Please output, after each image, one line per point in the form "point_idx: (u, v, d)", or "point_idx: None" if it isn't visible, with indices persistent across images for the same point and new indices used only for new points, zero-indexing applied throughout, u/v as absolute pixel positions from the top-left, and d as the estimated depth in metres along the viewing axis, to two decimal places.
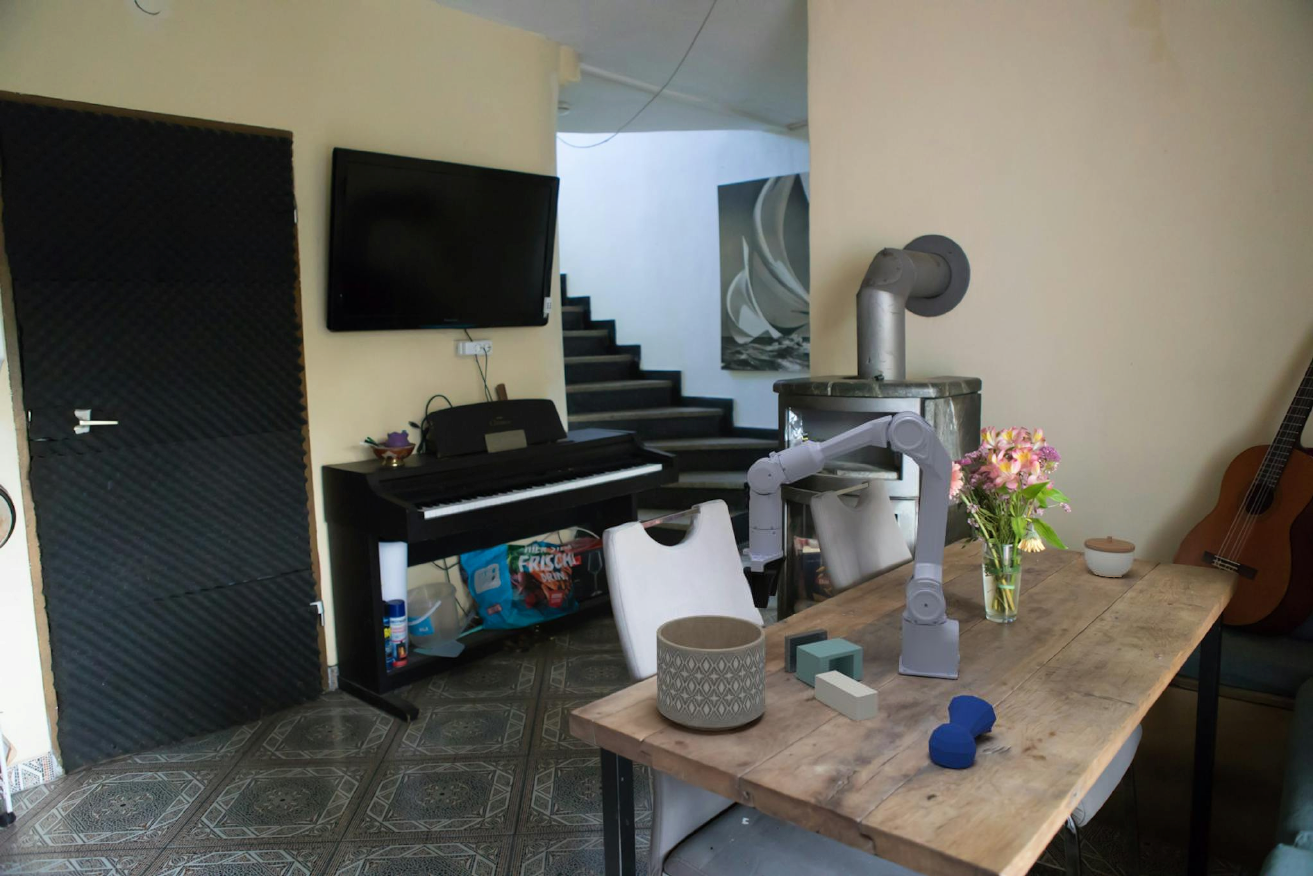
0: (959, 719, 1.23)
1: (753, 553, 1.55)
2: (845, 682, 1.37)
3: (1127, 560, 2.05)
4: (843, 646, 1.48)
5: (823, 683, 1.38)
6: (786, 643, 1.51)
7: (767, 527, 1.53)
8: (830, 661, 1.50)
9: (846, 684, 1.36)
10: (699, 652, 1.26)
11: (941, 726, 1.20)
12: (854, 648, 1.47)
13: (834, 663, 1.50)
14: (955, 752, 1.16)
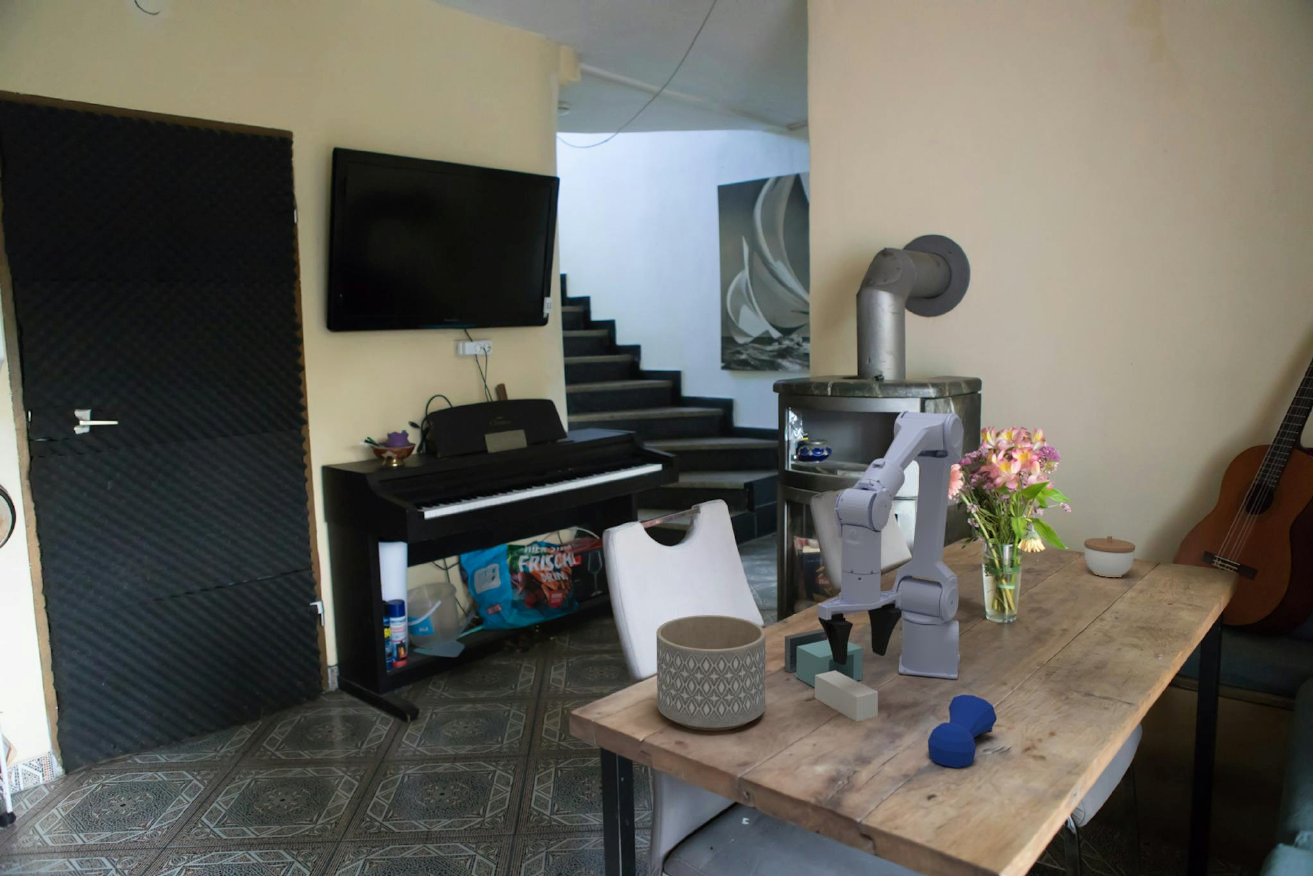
0: (959, 719, 1.23)
1: (840, 598, 1.32)
2: (845, 681, 1.37)
3: (1127, 560, 2.05)
4: None
5: (823, 683, 1.38)
6: (786, 643, 1.51)
7: (880, 568, 1.30)
8: (830, 661, 1.50)
9: (846, 684, 1.36)
10: (699, 652, 1.26)
11: (940, 725, 1.20)
12: (854, 648, 1.47)
13: (834, 663, 1.50)
14: (954, 751, 1.17)
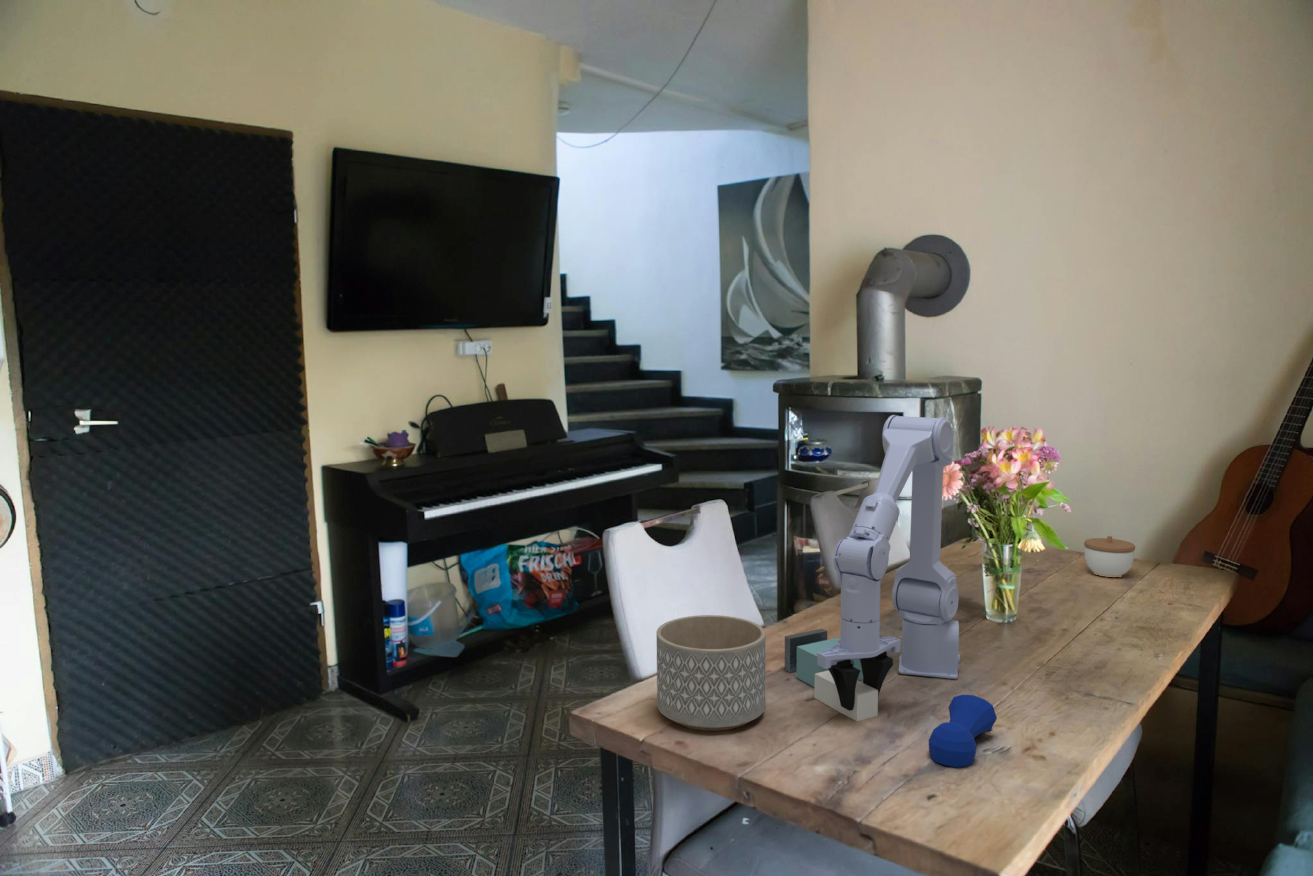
0: (959, 718, 1.23)
1: (839, 645, 1.33)
2: None
3: (1127, 560, 2.05)
4: None
5: (823, 682, 1.38)
6: (786, 643, 1.51)
7: (879, 616, 1.31)
8: None
9: None
10: (699, 652, 1.26)
11: (941, 725, 1.20)
12: None
13: None
14: (955, 751, 1.17)
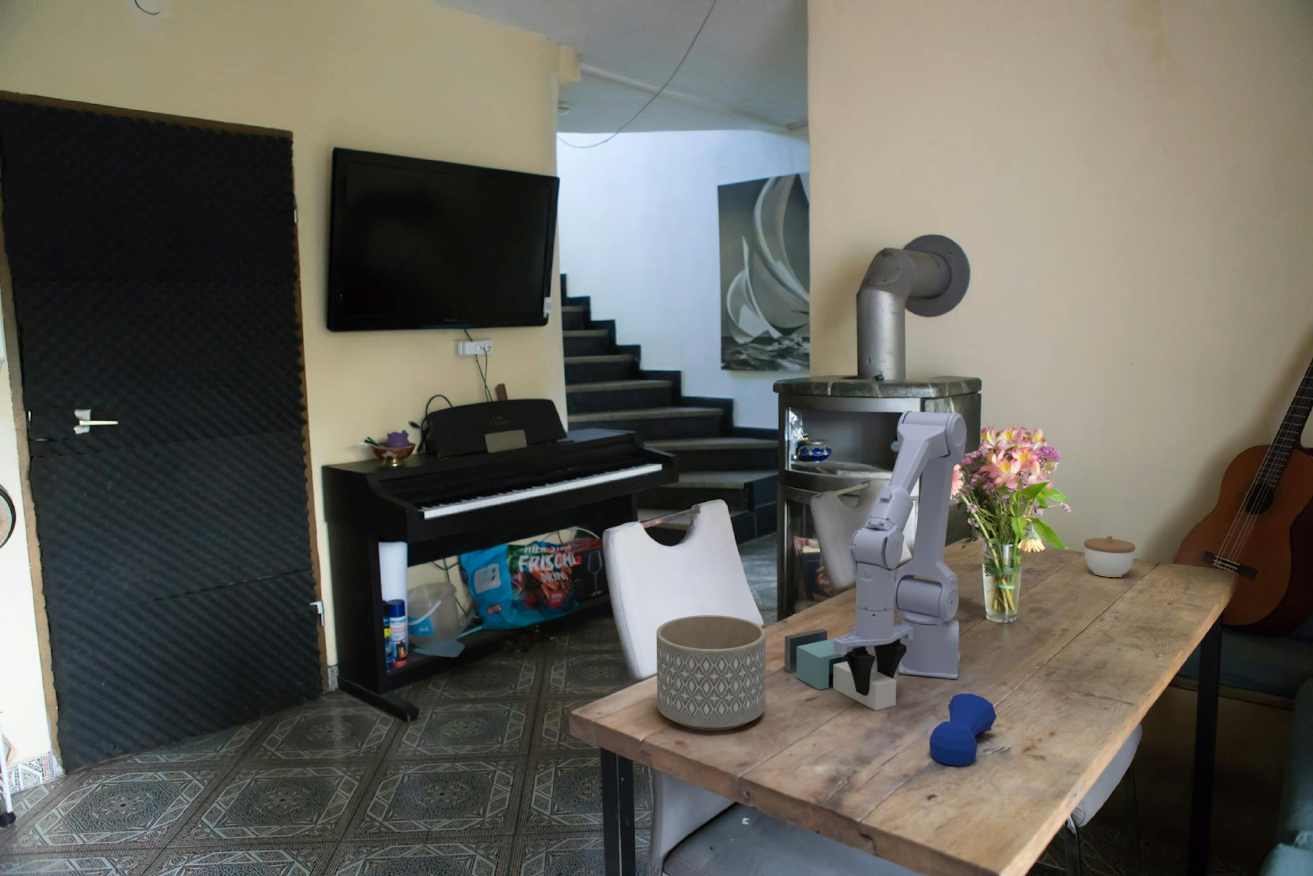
0: (959, 717, 1.24)
1: (855, 632, 1.38)
2: None
3: (1127, 560, 2.05)
4: None
5: (842, 672, 1.42)
6: (786, 643, 1.51)
7: (893, 605, 1.36)
8: (830, 661, 1.50)
9: None
10: (699, 652, 1.26)
11: (942, 724, 1.20)
12: None
13: (834, 663, 1.50)
14: (956, 749, 1.17)
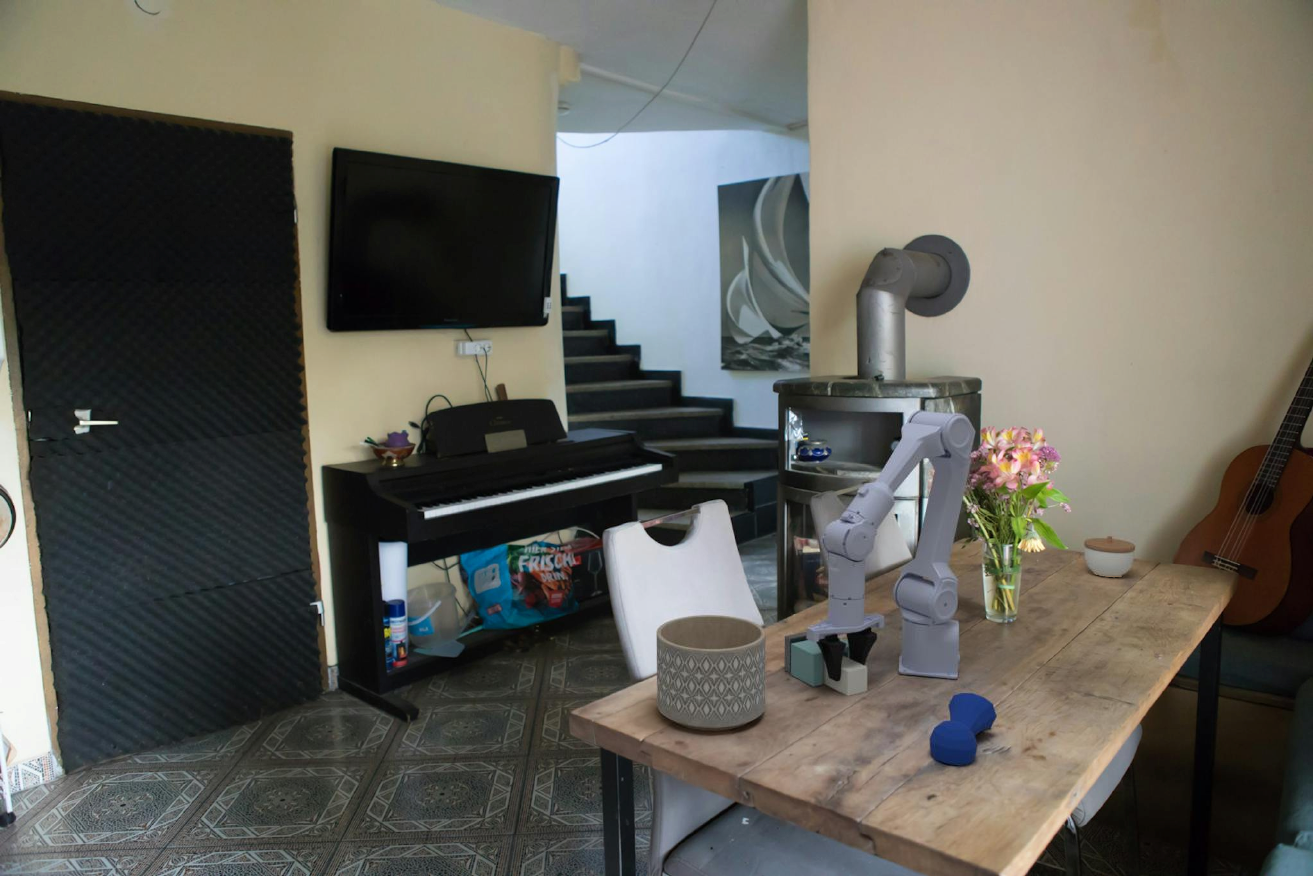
0: (959, 716, 1.24)
1: (827, 621, 1.43)
2: None
3: (1127, 560, 2.05)
4: None
5: None
6: (786, 643, 1.51)
7: (861, 596, 1.40)
8: None
9: None
10: (699, 652, 1.26)
11: (942, 723, 1.20)
12: (848, 645, 1.48)
13: None
14: (956, 749, 1.17)
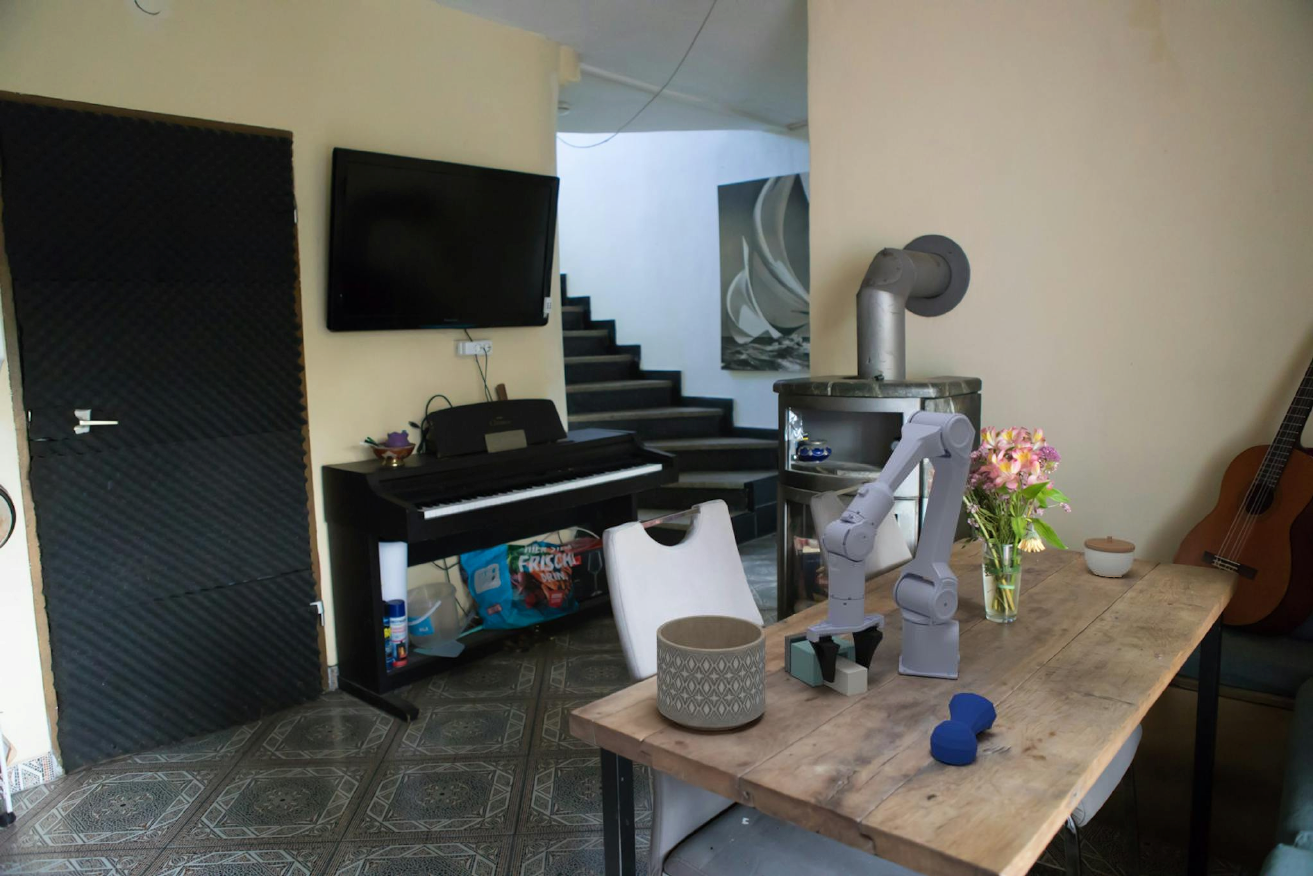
0: (960, 716, 1.24)
1: (827, 621, 1.43)
2: (837, 660, 1.46)
3: (1127, 560, 2.05)
4: (837, 643, 1.49)
5: None
6: (786, 643, 1.51)
7: (861, 596, 1.40)
8: None
9: (838, 662, 1.45)
10: (699, 652, 1.26)
11: (943, 723, 1.21)
12: (848, 645, 1.48)
13: None
14: (957, 748, 1.17)
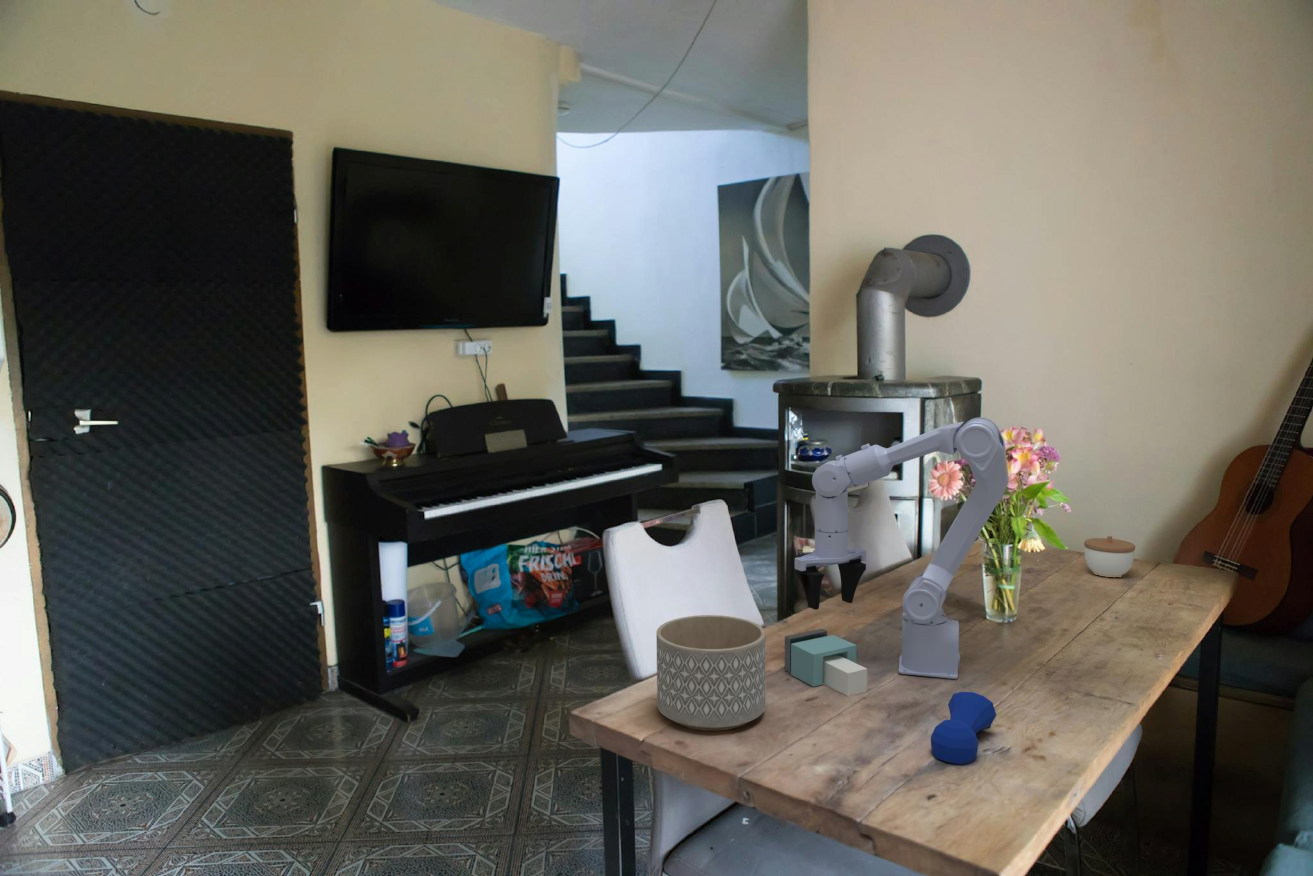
0: (960, 715, 1.24)
1: (814, 553, 1.57)
2: (837, 660, 1.46)
3: (1127, 560, 2.05)
4: (837, 643, 1.49)
5: None
6: (786, 643, 1.51)
7: (831, 530, 1.53)
8: None
9: (838, 662, 1.45)
10: (699, 652, 1.26)
11: (943, 722, 1.21)
12: (848, 645, 1.48)
13: None
14: (958, 748, 1.17)
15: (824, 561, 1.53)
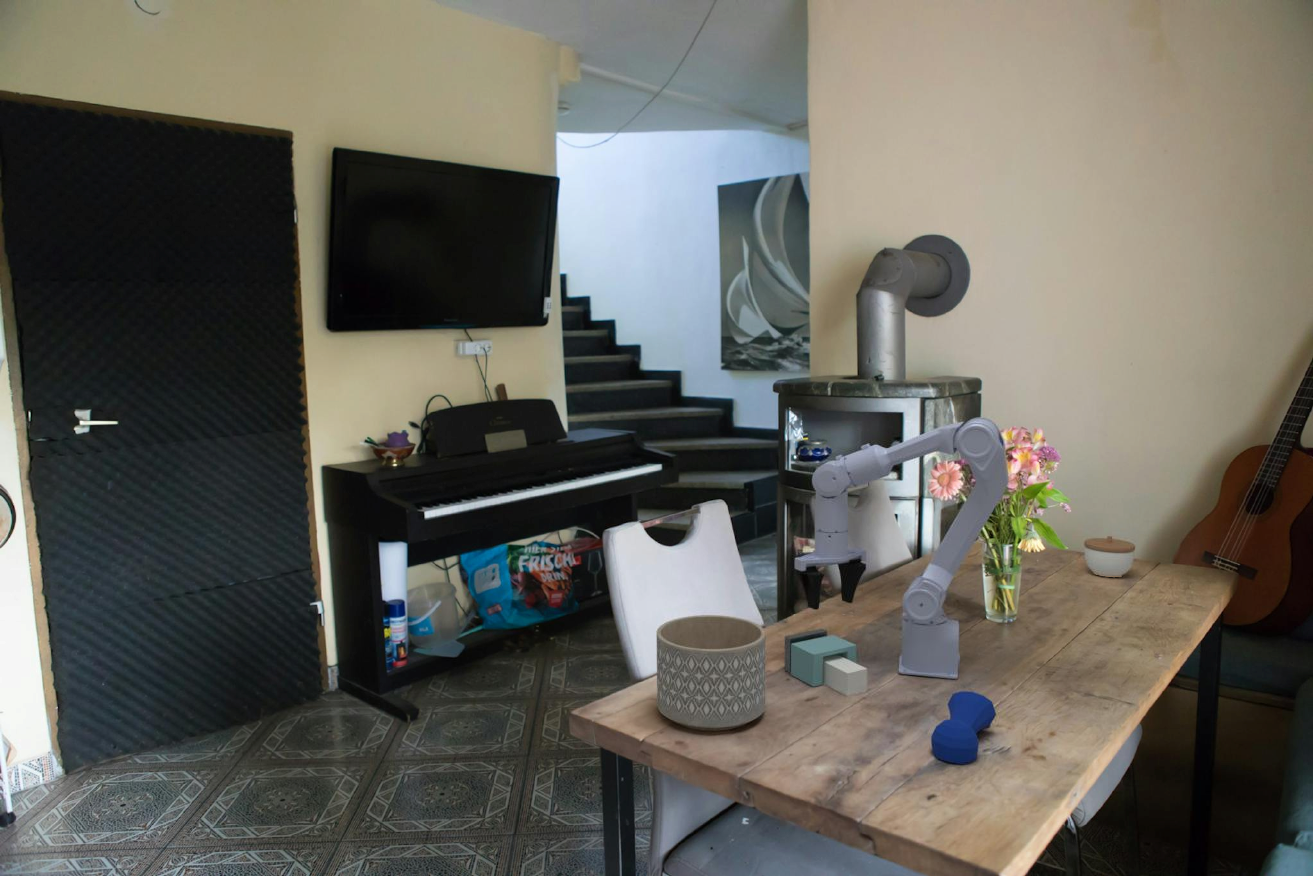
0: (960, 715, 1.24)
1: (814, 553, 1.57)
2: (837, 660, 1.46)
3: (1127, 560, 2.05)
4: (837, 643, 1.49)
5: None
6: (786, 643, 1.51)
7: (831, 530, 1.53)
8: None
9: (838, 662, 1.45)
10: (699, 652, 1.26)
11: (944, 722, 1.21)
12: (848, 645, 1.48)
13: None
14: (958, 747, 1.18)
15: (824, 561, 1.53)
